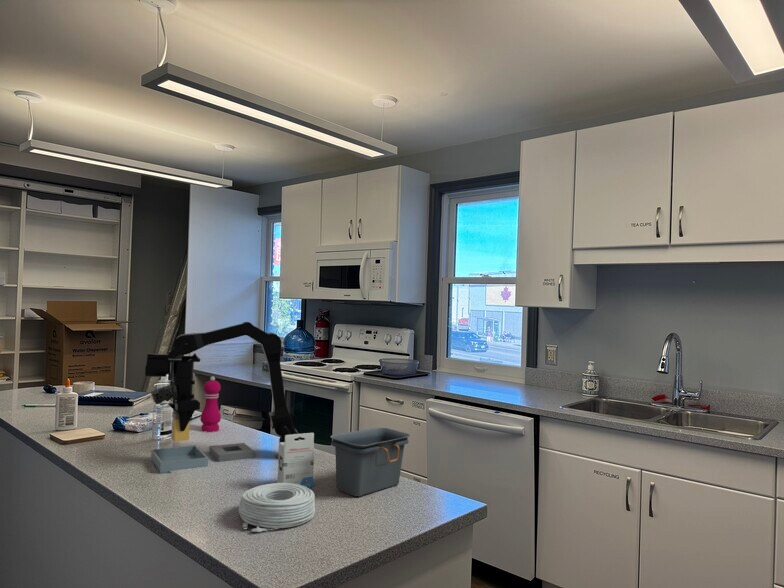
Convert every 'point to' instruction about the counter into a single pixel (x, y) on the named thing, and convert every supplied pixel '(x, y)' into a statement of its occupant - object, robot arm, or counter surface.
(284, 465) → the ink box
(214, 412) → the pepper mill
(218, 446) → the grey square socket tray
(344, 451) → the storage bin
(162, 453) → the parts tray
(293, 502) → the cable
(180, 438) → the block
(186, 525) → the counter surface
